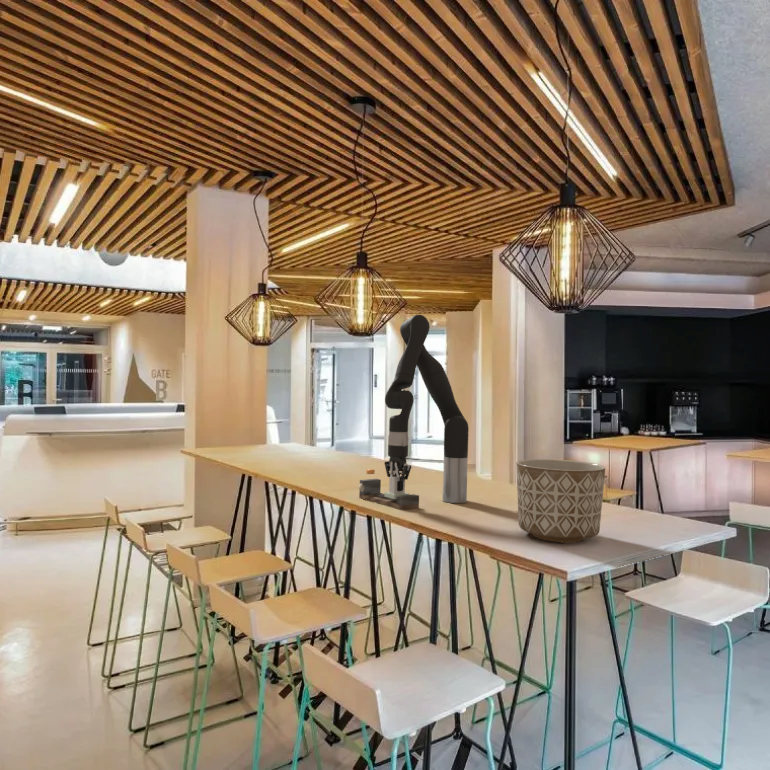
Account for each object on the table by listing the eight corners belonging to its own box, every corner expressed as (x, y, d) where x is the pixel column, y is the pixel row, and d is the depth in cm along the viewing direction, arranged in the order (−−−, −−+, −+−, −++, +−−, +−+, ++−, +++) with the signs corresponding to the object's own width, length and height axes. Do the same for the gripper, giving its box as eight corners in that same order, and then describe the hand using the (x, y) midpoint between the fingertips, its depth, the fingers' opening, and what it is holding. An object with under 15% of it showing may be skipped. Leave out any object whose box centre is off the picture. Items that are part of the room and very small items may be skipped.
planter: (617, 537, 191) (619, 465, 191) (580, 552, 171) (582, 473, 171) (539, 522, 208) (541, 457, 208) (498, 535, 189) (500, 463, 189)
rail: (358, 497, 245) (359, 480, 245) (375, 496, 250) (376, 478, 250) (400, 510, 223) (401, 490, 223) (418, 507, 228) (419, 488, 228)
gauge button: (364, 473, 246) (364, 469, 246) (371, 472, 248) (371, 468, 248) (369, 474, 244) (369, 470, 244) (376, 473, 246) (376, 469, 246)
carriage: (384, 496, 233) (384, 476, 233) (399, 494, 237) (399, 475, 237) (394, 499, 228) (394, 478, 228) (409, 497, 232) (409, 477, 232)
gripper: (378, 442, 236) (377, 488, 236) (402, 446, 224) (400, 494, 224) (394, 441, 240) (393, 486, 240) (418, 445, 229) (416, 492, 229)
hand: (397, 489), depth 232 cm, fingers closed on carriage, 3 cm apart
